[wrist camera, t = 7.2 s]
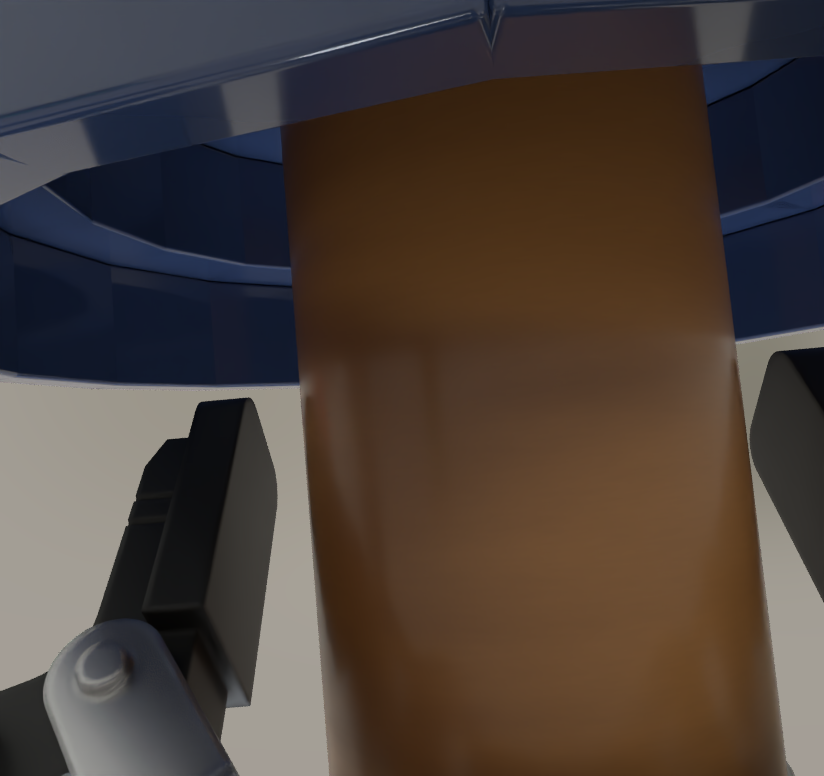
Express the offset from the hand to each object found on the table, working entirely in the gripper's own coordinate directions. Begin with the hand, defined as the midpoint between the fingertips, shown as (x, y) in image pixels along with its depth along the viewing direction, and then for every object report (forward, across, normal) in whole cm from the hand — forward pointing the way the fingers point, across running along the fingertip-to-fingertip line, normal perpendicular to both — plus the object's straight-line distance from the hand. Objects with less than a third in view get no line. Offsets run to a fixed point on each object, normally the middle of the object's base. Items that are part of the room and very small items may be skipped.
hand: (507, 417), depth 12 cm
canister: (+3, 0, -5) cm, 6 cm away
